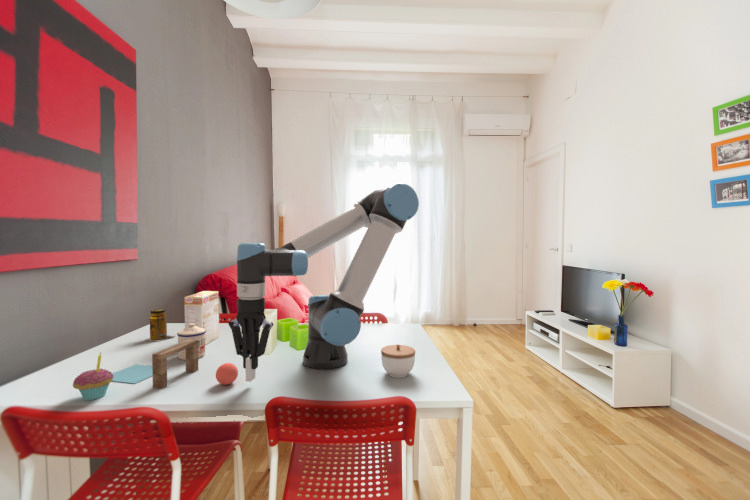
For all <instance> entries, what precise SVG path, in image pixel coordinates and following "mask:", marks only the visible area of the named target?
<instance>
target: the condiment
mask: <svg viewBox="0 0 750 500" xmlns="http://www.w3.org/2000/svg"><path fill="white" fill-rule="evenodd" d="M167 318H168V317H167V313H166V309H165V308H155V309H152V310H150V317H149V338H146V340H147V341H151V342H160V341H163V340H168V339H171V338H174V337H176V336H175V335H169V334H167V332H168V325H167V322H168V321H167V320H168V319H167Z"/></svg>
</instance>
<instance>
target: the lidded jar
mask: <svg viewBox="0 0 750 500" xmlns="http://www.w3.org/2000/svg"><path fill="white" fill-rule="evenodd" d="M380 355H381V364H382V368H383V369H384V371H385V372H386V373H387V375H388V376H389V377H392V378H396V379H397V378H399V379H400V378H405V377H407V376H408V374H410V372H411V371H412V370H413V368H414V365H415V362H416V361H415V360H416V357H415V356H416V350H415V348H414V347H412V346H409V345H404V344H400V343H397V344H391V345H390V344H389V345H385V346H383V347H382V348H381V350H380Z"/></svg>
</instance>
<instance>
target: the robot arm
mask: <svg viewBox="0 0 750 500" xmlns="http://www.w3.org/2000/svg"><path fill="white" fill-rule="evenodd" d="M419 205H420V204H419V198H418V195H417V192H416V191H415V189H414V188H413V187H411V186H410V185H409V184H406V183H403V182H398V183H397V182H395V183H394V182H393V183H391V184H389V185H387V186H382V187H379V188H377V189H375V190H374V191H372V192H370V193H369V194H367V195H366V196H365V197H363V198H362V199H360V200H358V201H357V202H355V203H354V204H353V207H352V208H350V209H348V210H346V211H344V212H343V213H341V214H339V215H337V216H335V217H334V218H332V219H330V220H328V221H326V222H324V223H323V224H320V225H318V226H317V227H315V228H313V229H311V230H309V231H308V232H306V233H303V234H302V235H300V236H298V237H297V238H295V239H294V240H291V241H289V242H287V243H286V244H284V245H282V246H280V247H276V248H274V249H272V250H271V249H267V248H266V244H265V243H264V242H263V243H261V242H257V243H255V242H242V243H239V244H238V246H237V252H236V253H237V255H236V297H238V298H237V299H236V311H237V314H236V315H235V316H236V317H235V318H233V320H230V321H229V322H228V323H227V324H228V326H229V329H230V330H231V333H232V338H233V342H234V348H235V352H236V355H238V356H239V355H240V356H242V360H243V361H242V367H243V369H244V370H245V382H249V383H251V382H252V381H253V380H255V379H256V370H257V368H258V366H259V358H260V357H262V356H263V355H264V354H265V353H266V349H267V345H268V339H269V336H270V332H271V329H272V328H273V326H274V322H269V321H268V320H267V319H266V318H267V317H266V315H265V311H266V309H265V307H266V299H265V298H264V297H265V295H266V277H298V276H305V275H306V274H307V273H308V267H309V258H311V257H312V256H314V255H316V254H318V253H320V252H321V251H323V250H325V249H327V248H329V247H330V246H332V245H334V244H335V243H338V242H339V241H341V240H343V239H344V238H346V237H348V236H349V235H352V234H353V233H356V232H357V231H359V230H360V229H362V228H367V230H366V231H365V234H364V235H363V238H362V239H361V241H360V244H359V245H358V248H357V250H356V252H355V254H354V256H353V258H352V260H351V261H350V265H349V266H348V268H347V270H346V271H345V275H344V276H343V279H342V280H341V282H340V284H339V286H338V288H337V290H333V291H332V292H330V294H319V295H312V296H309V298H308V304H307V307H308V309H307V310H308V313H307V315H308V316H307V317H308V321H307V324H308V326H307V327H308V334H307V336H308V341H307V343H306V345H305V349H304V353H303V356H302V358H303V359H302V363H303V365H304V366H306V367H308V368H311V369H317V370H328V369H335V368H341V367H342V366H345V365H346V364H347V363H348V358H349V357H348V352H347V348H346V345H349V344H350V343H352V342H353V341H354V340H356V338H357V337H358V335H359V334H360V331H361V327H362V326H361V325H362V323H361V317H362V314H363V312H364V310H365V306H364V304H363V301H364V299H365V297H366V295H367V293H368V291H369V289H370V287H371V286H372V285H371V284H372V283H373V280H374V279H375V276H376V274H377V272H378V270H379V268H380V266H381V264H382V263H383V260H384V257H385V255H386V253H387V251H388V249H389V247H390V245H391V244H392V242H393V239H394V238H395V235H396V234H398V233H402V232H403V229H404V228H405V225H406V223H407V221H409V220H411V219H412V218H413V217H415V215H416V214H417V212H418V210H419ZM261 327H262V331H261ZM260 331H261V334H260Z"/></svg>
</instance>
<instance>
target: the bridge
mask: <svg viewBox="0 0 750 500" xmlns="http://www.w3.org/2000/svg"><path fill="white" fill-rule="evenodd" d="M184 349H185V350H186V360H185V372H189V373H196V372H197V371H199V358H198V340H191V339H190V340H187V341H184V342H182V343H179V344H178V343H177V344H174V345H171V346H170V347H167V348H164V349H162V350H159V351H157V352H153V353H152V354H151V358H152V359H151V360H152V361H151V362H152V363H151V364H152V365H151V366H152V371H153V376H152V388H153V389H158V390H159V389H161V390H162V389H165V388H167V387H168V369H167V368H168V357H170V356H173V355H174V354H178V352H179V351H182V350H184Z"/></svg>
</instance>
